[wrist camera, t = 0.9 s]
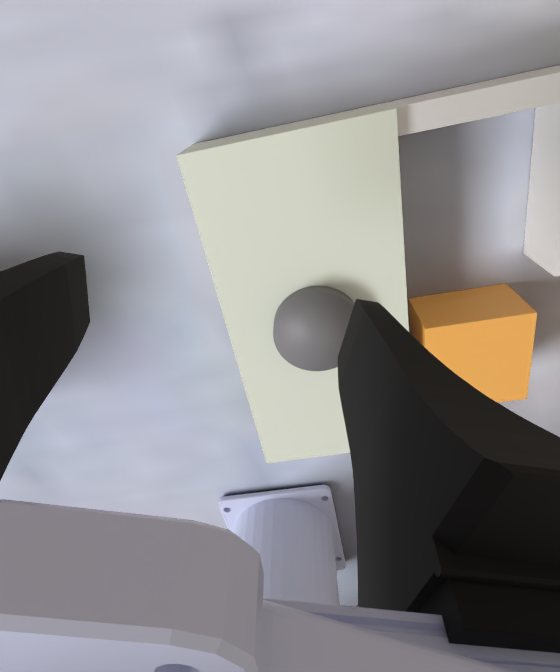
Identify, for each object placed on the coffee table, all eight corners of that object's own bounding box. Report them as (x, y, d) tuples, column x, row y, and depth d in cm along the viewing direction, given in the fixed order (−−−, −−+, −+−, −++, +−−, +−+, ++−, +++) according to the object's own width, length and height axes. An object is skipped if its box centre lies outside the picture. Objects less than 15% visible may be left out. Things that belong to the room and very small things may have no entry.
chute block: (498, 360, 25) (526, 398, 22) (410, 372, 26) (426, 411, 23) (504, 282, 23) (537, 312, 20) (407, 297, 23) (425, 328, 20)
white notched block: (529, 385, 26) (569, 436, 22) (269, 421, 28) (266, 474, 24) (564, 63, 18) (636, 59, 14) (193, 143, 20) (171, 158, 16)
